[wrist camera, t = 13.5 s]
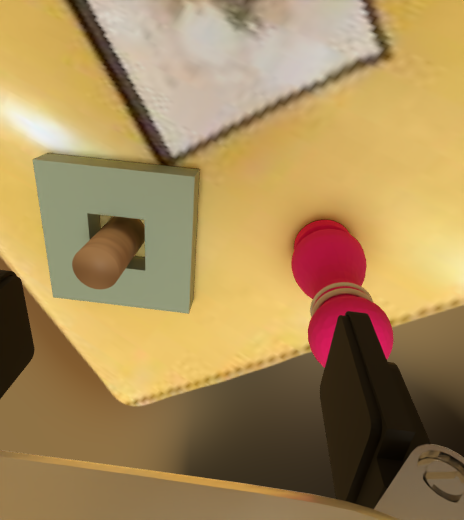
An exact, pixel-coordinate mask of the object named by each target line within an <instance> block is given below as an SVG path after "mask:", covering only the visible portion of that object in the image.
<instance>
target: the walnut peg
mask: <svg viewBox="0 0 464 520" xmlns="http://www.w3.org/2000/svg"><path fill="white" fill-rule="evenodd" d="M144 241H145V227H144V225H143V223H142V222H141V221H140V220H139V219H135V218H126V217H117V216H114V217H112V218H111V219H110V220H109V221H108V222H107V223H106V224H105V225H104V226H103V227H102V228H101V229H100V230H99V231H98V232H97V233H96V234H95V235H94V236H93V237H92V238H91V239H90V240H89V241H88V242H87V243H86V244H85V245H84V246H83V247H82V248H81V249H80V250H79V251H78V252H77V253H76V254H75V256H74V258H73V261H72V268H73V271H74V274H75V275H76V277H77V278H78V279H79V280H80V281H81V282H82V283H83V284H84V285H86V286H88V287H90V288H93V289H107V288H110V287H111V286H113V285H114V284H115V283H116V282H117V280H118V279H119V277H120V276H121V274H122V273H123V271H124V270H125V269H126V267H127V266H128V264H129V263H130V261H131V260H132V258H133V257H134V256H135V254H136V253H137V251H138V250H139V248H140V247H141V246H142V244H143V243H144Z"/></svg>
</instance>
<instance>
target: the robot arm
mask: <svg viewBox="0 0 464 520" xmlns="http://www.w3.org/2000/svg"><path fill="white" fill-rule="evenodd" d="M33 354H34V345H33V339H32V334H31V329H30V323H29V319H28V313H27V308H26V302H25V297H24V292H23V287H22V282H21V279H20V278H19V277H17V276H16V274H15V273H14V272H12V271H5V270H0V398H1V397H2V396H3V395H4V393H5V392H6V391H7V390H8V388H9V387H10V386H11V385H12V383H13V382H14V381H15V380H16V378H17V377H18V376H19V375H20V373H21V372H22V371H23V370H24V368H25V367H26V366H27V365H28V363H29V362H30V361H31V359H32V357H33ZM320 399H321V406H322V412H323V419H324V425H325V432H326V438H327V444H328V451H329V457H330V464H331V469H332V476H333V483H334V489H335V496H336V499H333V498H328V497H323V496H318V495H313V494H307V493H301V492H295V491H288V490H282V489H276V488H270V487H263V486H256V485H250V484H243V483H237V482H230V481H223V480H215V479H208V478H201V477H194V476H187V475H180V474H173V473H166V472H158V471H152V470H144V469H137V468H130V467H122V466H115V465H107V464H100V463H93V462H85V461H78V460H70V459H63V458H55V457H47V456H41V455H33V454H25V453H18V452H10V451H2V450H0V520H464V458H463V457H462V456H460V455H459V454H457V453H456V452H453V451H451V450H450V449H448V448H445V447H442V446H438V445H432V444H431V443H430V441H429V439H428V436H427V434H426V431H425V429H424V427H423V424H422V422H421V420H420V417H419V415H418V413H417V410H416V408H415V406H414V403H413V402H412V399H411V396H410V394H409V392H408V390H407V387H406V385H405V382H404V380H403V378H402V375H401V373H400V371H399V369H398V367H397V365H396V364H394V363H391V362H387V359H386V357H385V354H384V352H383V349H382V347H381V344H380V342H379V339H378V337H377V334H376V332H375V329H374V327H373V324H372V322H371V319H370V317H369V315H368V314H367V313H361V312H352V311H347V312H346V313H345V316H343V315H339V317H338V319H337V323H336V327H335V331H334V334H333V338H332V342H331V346H330V350H329V354H328V358H327V362H326V365H325V370H324V373H323V377H322V381H321V385H320Z"/></svg>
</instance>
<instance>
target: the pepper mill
mask: <svg viewBox="0 0 464 520" xmlns="http://www.w3.org/2000/svg"><path fill="white" fill-rule="evenodd" d="M291 264H292V271H293V275H294V278H295V280H296V282H297V284H298V285H299V287H300V288H301V289H302V290H303V292H304V293H305V294H307V295H308V296H309V297H311V298H312V299H313V300H312V303H311V308H310V312H311V317H312V318H311V320H310V323H309V327H308V341H309V344H310V348H311V350H312V352H313V354H314V356H315V358H316V359H317V360H318V362H320V364H321V365H322V366H323V367H325V365H326V362H327V358H328V354H329V350H330V346H331V342H332V338H333V334H334V331H335V327H336V323H337V319H338V317H339V315H343V316H345V313H346V312H347V311H352V312H361V313H367V314H368V315H369V317H370V319H371V322H372V324H373V327H374V329H375V332H376V334H377V337H378V339H379V342H380V344H381V347H382V349H383V352H384V354H385V357H386V359H388V357H389V355H390V353H391V350H392V346H393V331H392V327H391V324H390V321H389V319H388V317H387V316H386V314H385V312H384V311H383V310H382V309H381V308H380V307H379V306H378V305H376V304H375V303H373V301H372V298H371V296H370V294H369V293H368V292H367V291H366V290H365V289H364V288H362V287H361V285H362V283H363V281H364V278H365V272H366V258H365V255H364V251H363V249H362V247H361V245H360V243H359V242H358V241H357V240H356V239H355V238H354V237H353V236H351V235H350V234H349V232H348V230H347V229H346V228H345V227H344V226H343V225H341V224H340V223H337V222H335V221H332V220H318V221H315V222H312V223H310V224H308V225H306V226H305V227H304V228H303V229H302V230H301V231H300V232H299V233H298V235H297V237H296V239H295V243H294V253H293V256H292V262H291Z"/></svg>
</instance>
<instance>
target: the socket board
mask: <svg viewBox="0 0 464 520" xmlns="http://www.w3.org/2000/svg"><path fill="white" fill-rule="evenodd" d="M33 165H34V172H35V179H36V185H37V192H38V199H39V205H40V212H41V219H42V225H43V232H44V239H45V245H46V252H47V259H48V265H49V272H50V279H51V285H52V292H53V297H55V298H64V299H72V300H80V301H89V302H97V303H105V304H114V305H122V306H130V307H139V308H147V309H155V310H164V311H172V312H180V313H189V312H190V309H191V306H192V303H193V299H194V278H195V257H196V236H197V215H198V194H199V173H200V169H192V168H183V167H174V166H164V165H155V164H146V163H136V162H127V161H117V160H108V159H99V158H89V157H80V156H71V155H61V154H52V153H47V154H45V155H42V156H40V157H37V158H35V159H33ZM99 215H108V216H117V217H126V218H135V219H144V220H145V257H136V256H134V257H133V258H132V260H131V261H130V263H129V264H128V266H127V267H126V269H125V270H124V271H123V273H122V274H121V276H120V277H119V279H118V280H117V282H116V283H115V284H114V285H113V286H111V287H110V288H107V289H93V288H90V287H88V286H86V285H84V284H83V283H82V282H81V281H80V280H79V279H78V278H77V277H76V275H75V274H74V271H73V268H72V261H73V258H74V256H75V254H76V253H77V252H78V251H79V250H80V249H81V248H82V247H83V246H84V245H85V244H86V243H87V242H88V241H89V240H90V239H91V238H92V237H93V236H94V235H95V234H96V233H97V232H98V231H99V230H100V216H99Z"/></svg>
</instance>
